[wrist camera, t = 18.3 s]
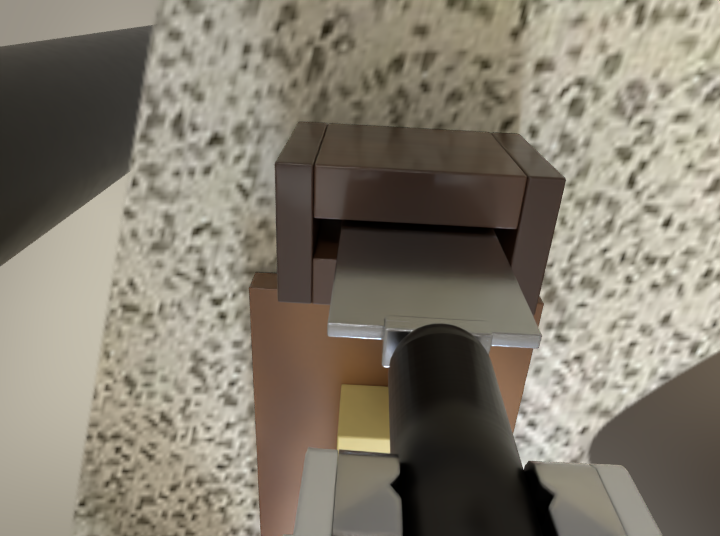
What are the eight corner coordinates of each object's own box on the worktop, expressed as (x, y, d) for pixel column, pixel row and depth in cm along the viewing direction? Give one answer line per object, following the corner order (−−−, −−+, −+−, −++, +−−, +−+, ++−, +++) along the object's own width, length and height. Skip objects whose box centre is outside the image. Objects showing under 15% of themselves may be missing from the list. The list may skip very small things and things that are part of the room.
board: (266, 532, 33) (261, 555, 32) (255, 271, 25) (248, 287, 24) (477, 543, 33) (482, 566, 32) (535, 287, 25) (544, 303, 24)
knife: (342, 241, 19) (260, 883, 6) (344, 183, 18) (252, 797, 5) (482, 249, 19) (732, 909, 6) (492, 191, 18) (831, 832, 5)
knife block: (298, 234, 24) (277, 302, 19) (298, 121, 22) (274, 162, 17) (499, 245, 24) (535, 317, 19) (520, 133, 22) (567, 178, 17)
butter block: (337, 473, 29) (333, 531, 26) (341, 383, 26) (337, 436, 23) (422, 477, 29) (428, 536, 26) (434, 388, 26) (443, 442, 23)
